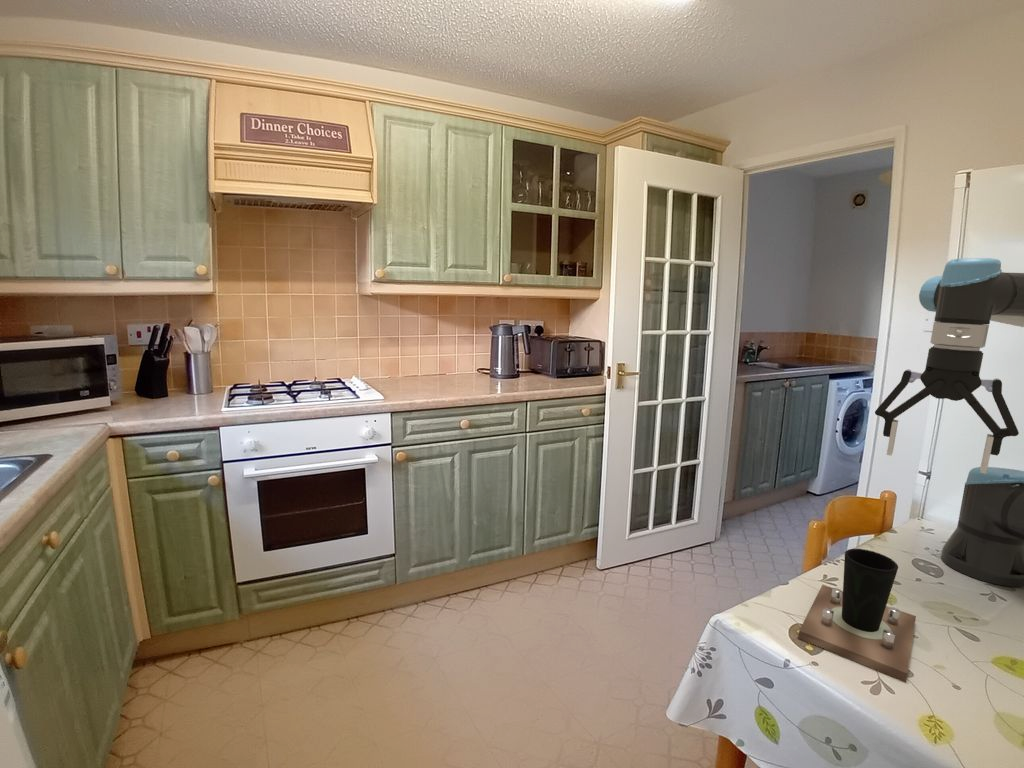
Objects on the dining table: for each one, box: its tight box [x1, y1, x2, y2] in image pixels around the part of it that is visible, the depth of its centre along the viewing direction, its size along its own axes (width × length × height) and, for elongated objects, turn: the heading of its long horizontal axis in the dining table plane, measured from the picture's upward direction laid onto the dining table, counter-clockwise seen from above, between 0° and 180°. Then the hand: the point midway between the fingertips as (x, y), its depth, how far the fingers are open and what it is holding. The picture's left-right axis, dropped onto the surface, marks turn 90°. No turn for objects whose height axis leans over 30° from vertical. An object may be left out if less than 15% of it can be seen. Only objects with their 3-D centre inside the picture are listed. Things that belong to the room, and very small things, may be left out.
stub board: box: [797, 584, 917, 683], centre depth 93 cm, size 15×20×4 cm
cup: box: [842, 548, 899, 632], centre depth 92 cm, size 8×8×12 cm
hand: (934, 462), depth 98 cm, fingers open, 13 cm apart
